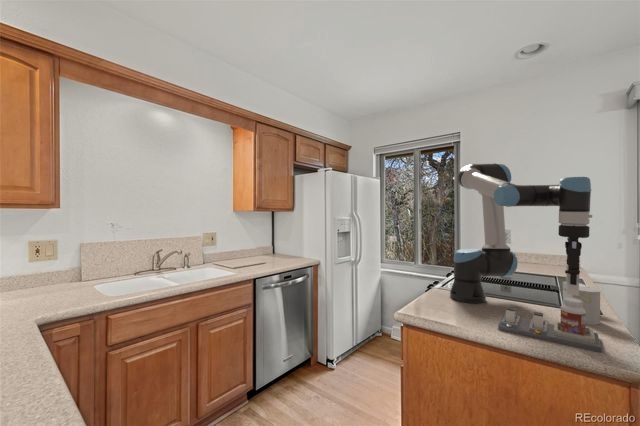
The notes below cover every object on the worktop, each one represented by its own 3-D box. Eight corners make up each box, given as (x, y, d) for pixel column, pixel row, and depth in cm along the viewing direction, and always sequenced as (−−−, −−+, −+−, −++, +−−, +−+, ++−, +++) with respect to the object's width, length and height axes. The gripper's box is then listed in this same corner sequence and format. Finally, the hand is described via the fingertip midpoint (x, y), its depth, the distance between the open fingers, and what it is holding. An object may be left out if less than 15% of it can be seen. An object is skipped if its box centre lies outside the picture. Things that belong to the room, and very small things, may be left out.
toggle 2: (533, 327, 98) (533, 313, 98) (534, 325, 99) (534, 311, 99) (542, 329, 96) (543, 315, 96) (543, 327, 98) (543, 313, 98)
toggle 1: (505, 322, 103) (505, 308, 103) (506, 320, 105) (506, 306, 105) (514, 323, 101) (514, 310, 101) (515, 321, 103) (515, 308, 103)
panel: (498, 329, 100) (498, 321, 100) (503, 318, 110) (503, 310, 110) (601, 352, 84) (601, 342, 84) (597, 337, 94) (597, 328, 94)
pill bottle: (556, 331, 95) (556, 298, 95) (566, 328, 97) (566, 295, 97) (579, 339, 89) (579, 304, 89) (589, 335, 92) (589, 301, 92)
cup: (565, 316, 112) (565, 286, 112) (584, 316, 112) (584, 285, 112) (586, 325, 104) (586, 292, 104) (606, 324, 104) (606, 291, 104)
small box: (590, 312, 116) (590, 286, 116) (574, 311, 117) (574, 286, 117) (577, 306, 124) (577, 281, 124) (562, 305, 125) (562, 281, 125)
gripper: (593, 228, 81) (590, 302, 82) (586, 222, 100) (584, 282, 101) (558, 226, 86) (556, 296, 86) (558, 222, 105) (557, 279, 106)
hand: (571, 289), depth 94 cm, fingers open, 13 cm apart
